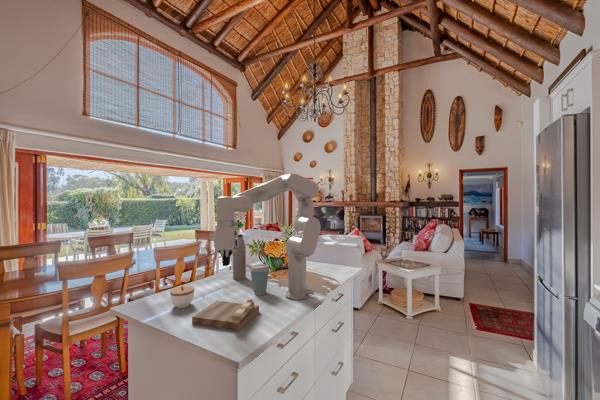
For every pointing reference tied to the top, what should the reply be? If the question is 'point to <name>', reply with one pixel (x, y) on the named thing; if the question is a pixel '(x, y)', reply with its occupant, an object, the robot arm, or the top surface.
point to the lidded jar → (182, 296)
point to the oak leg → (242, 311)
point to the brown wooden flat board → (223, 315)
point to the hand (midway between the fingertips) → (226, 265)
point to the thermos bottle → (239, 260)
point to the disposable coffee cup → (259, 278)
